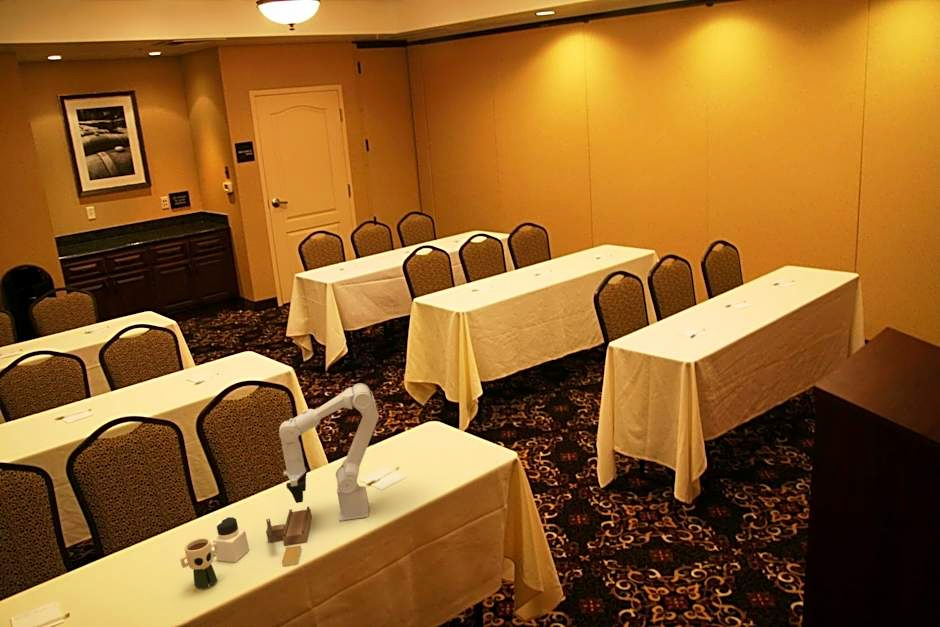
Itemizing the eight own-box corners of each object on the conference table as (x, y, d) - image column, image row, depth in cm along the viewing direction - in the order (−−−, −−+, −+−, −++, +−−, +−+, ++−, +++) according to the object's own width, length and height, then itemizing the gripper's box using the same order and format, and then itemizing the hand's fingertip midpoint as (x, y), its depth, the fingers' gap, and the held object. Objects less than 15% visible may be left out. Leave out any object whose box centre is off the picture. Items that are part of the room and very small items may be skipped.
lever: (274, 542, 236) (272, 533, 235) (270, 543, 236) (268, 534, 235) (271, 526, 246) (269, 518, 245) (267, 527, 245) (265, 519, 245)
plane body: (312, 517, 257) (309, 506, 256) (306, 542, 242) (304, 530, 241) (274, 523, 257) (271, 512, 256) (266, 548, 241) (264, 537, 240)
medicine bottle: (249, 550, 242) (242, 515, 239) (236, 562, 235) (228, 527, 232) (230, 548, 244) (223, 514, 241) (216, 561, 238) (208, 526, 235)
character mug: (193, 597, 220) (183, 557, 216) (183, 588, 225) (173, 548, 222) (229, 579, 226) (220, 540, 223) (219, 571, 232) (210, 532, 229)
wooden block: (301, 551, 238) (300, 545, 238) (297, 565, 230) (296, 559, 230) (287, 553, 238) (286, 547, 237) (282, 567, 230) (281, 561, 230)
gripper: (284, 450, 254) (291, 488, 258) (277, 469, 240) (285, 509, 244) (305, 447, 255) (312, 484, 258) (300, 466, 241) (308, 505, 244)
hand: (300, 496), depth 251 cm, fingers open, 7 cm apart
